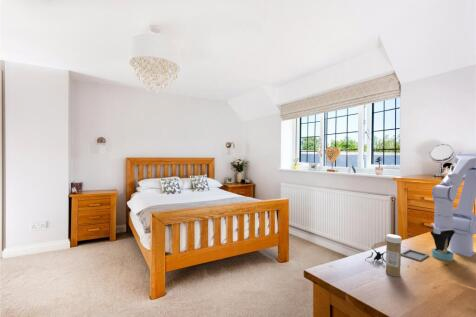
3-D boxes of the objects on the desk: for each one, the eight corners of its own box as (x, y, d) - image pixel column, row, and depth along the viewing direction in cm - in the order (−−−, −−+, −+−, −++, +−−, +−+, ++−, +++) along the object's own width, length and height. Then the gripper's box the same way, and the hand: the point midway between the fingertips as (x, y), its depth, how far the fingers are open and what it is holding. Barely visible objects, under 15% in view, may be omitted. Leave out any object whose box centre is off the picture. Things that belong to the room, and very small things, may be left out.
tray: (409, 251, 107) (409, 249, 107) (428, 257, 101) (428, 254, 101) (399, 256, 102) (400, 253, 102) (420, 262, 96) (420, 259, 96)
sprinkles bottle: (403, 274, 86) (404, 236, 86) (396, 278, 84) (397, 238, 84) (389, 269, 90) (390, 232, 90) (382, 272, 88) (383, 235, 87)
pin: (438, 255, 102) (439, 235, 102) (447, 257, 100) (448, 238, 100) (436, 256, 101) (436, 237, 101) (445, 259, 98) (446, 239, 98)
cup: (435, 253, 105) (435, 246, 105) (455, 259, 100) (455, 252, 100) (429, 257, 101) (429, 250, 101) (449, 263, 96) (450, 255, 96)
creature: (386, 272, 91) (391, 260, 96) (386, 259, 90) (391, 248, 95) (363, 265, 96) (369, 255, 102) (362, 253, 95) (368, 243, 101)
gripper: (437, 210, 107) (436, 241, 108) (424, 215, 99) (423, 249, 99) (458, 214, 102) (457, 247, 102) (447, 219, 93) (445, 255, 94)
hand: (442, 248), depth 100 cm, fingers open, 5 cm apart
